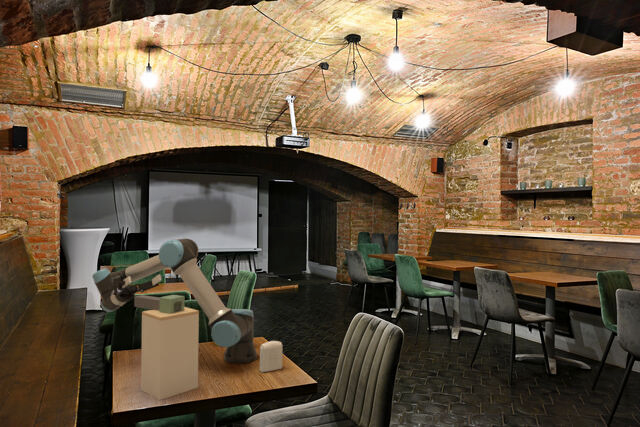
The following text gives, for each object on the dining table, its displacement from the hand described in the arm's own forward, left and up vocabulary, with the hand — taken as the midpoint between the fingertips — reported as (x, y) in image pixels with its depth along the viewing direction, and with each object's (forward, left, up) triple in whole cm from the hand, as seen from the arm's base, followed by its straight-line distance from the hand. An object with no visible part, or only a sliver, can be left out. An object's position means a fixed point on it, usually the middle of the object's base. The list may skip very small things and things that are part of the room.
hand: (145, 278), depth 188 cm
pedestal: (-15, +17, -40) cm, 46 cm away
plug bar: (-9, +13, -10) cm, 19 cm away
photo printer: (-53, -3, -40) cm, 67 cm away
